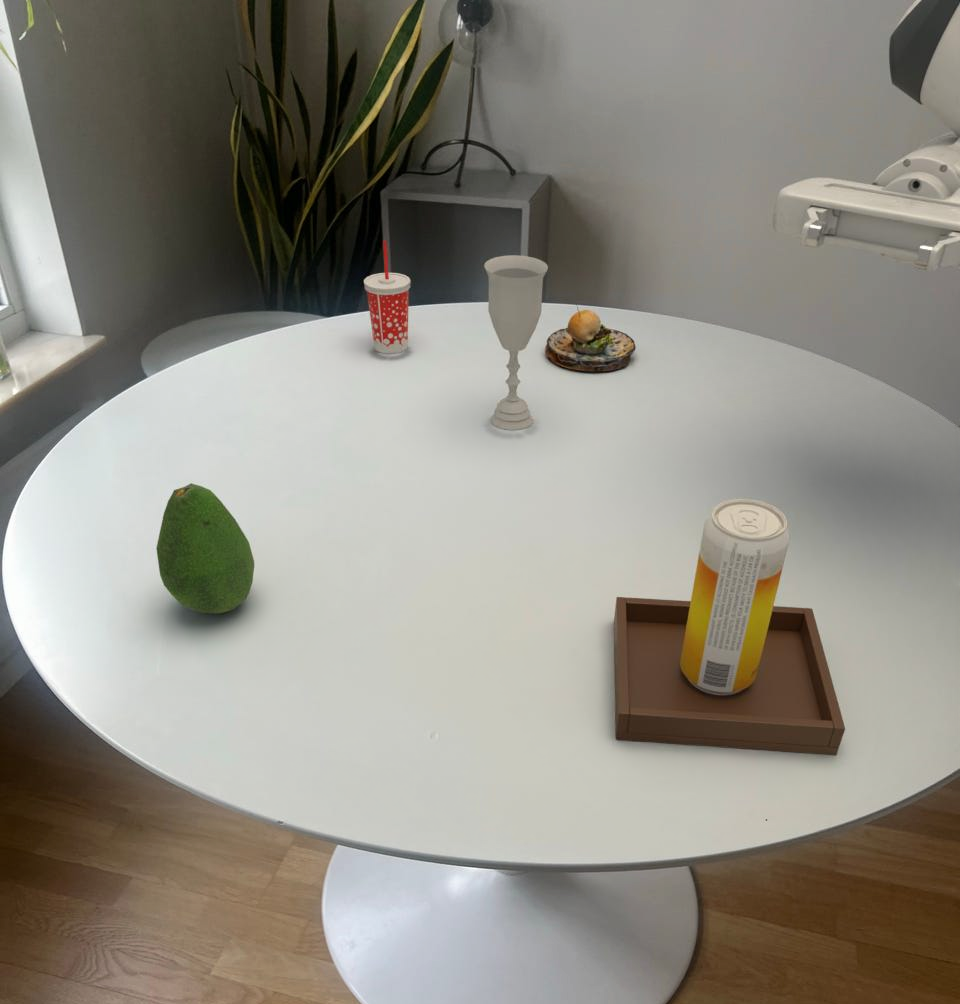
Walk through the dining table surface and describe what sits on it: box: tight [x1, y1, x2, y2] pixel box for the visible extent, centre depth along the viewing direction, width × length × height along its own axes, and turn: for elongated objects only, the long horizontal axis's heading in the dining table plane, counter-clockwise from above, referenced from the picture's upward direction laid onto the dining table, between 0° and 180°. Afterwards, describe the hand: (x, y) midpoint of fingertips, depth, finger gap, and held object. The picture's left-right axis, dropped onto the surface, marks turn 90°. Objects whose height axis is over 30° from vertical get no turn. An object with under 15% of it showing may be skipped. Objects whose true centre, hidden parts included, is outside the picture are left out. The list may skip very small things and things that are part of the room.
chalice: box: [483, 254, 549, 431], centre depth 109 cm, size 7×7×18 cm
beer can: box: [680, 498, 791, 695], centre depth 74 cm, size 6×6×15 cm
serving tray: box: [613, 596, 846, 756], centre depth 78 cm, size 17×15×3 cm
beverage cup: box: [363, 239, 412, 355], centre depth 127 cm, size 6×6×14 cm
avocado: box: [156, 483, 255, 615], centre depth 83 cm, size 8×8×12 cm
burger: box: [545, 303, 637, 372], centre depth 127 cm, size 12×12×8 cm
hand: (865, 247), depth 77 cm, fingers open, 8 cm apart
